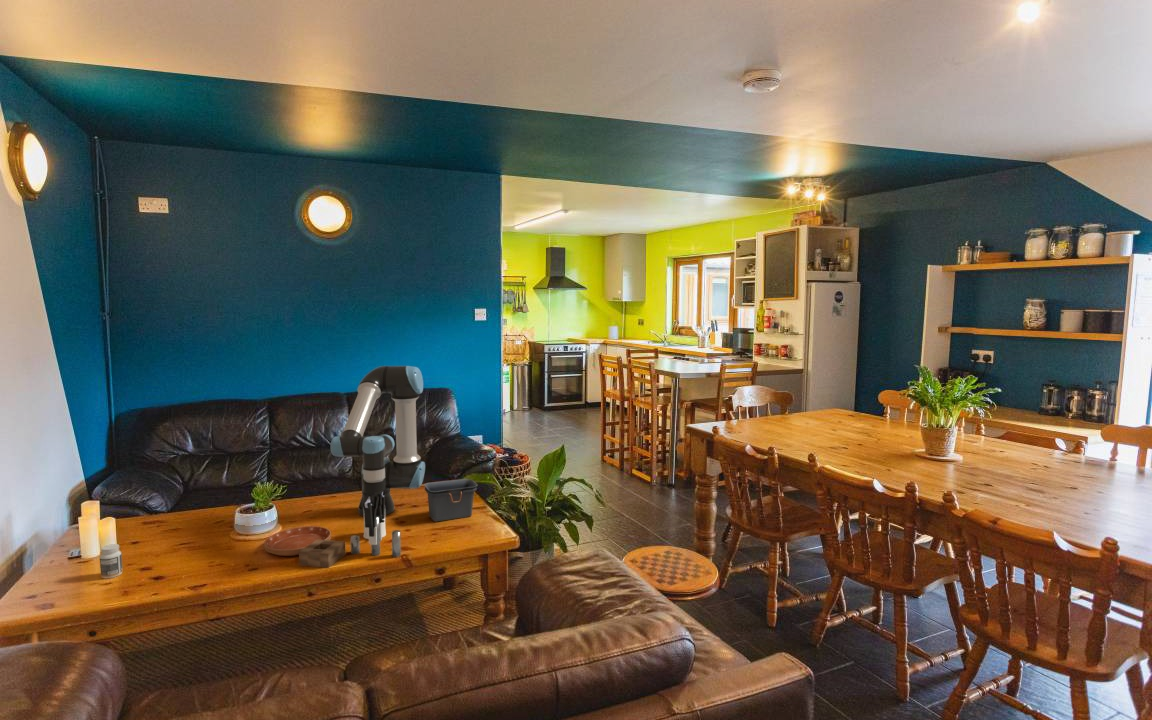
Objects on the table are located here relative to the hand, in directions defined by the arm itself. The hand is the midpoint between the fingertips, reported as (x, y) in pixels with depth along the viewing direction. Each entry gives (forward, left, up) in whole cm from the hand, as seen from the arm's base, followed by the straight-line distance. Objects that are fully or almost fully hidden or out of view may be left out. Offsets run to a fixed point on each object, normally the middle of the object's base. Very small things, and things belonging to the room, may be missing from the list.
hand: (375, 542), depth 218 cm
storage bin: (-41, +14, -5) cm, 44 cm away
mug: (-15, -8, -5) cm, 18 cm away
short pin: (0, -8, -5) cm, 9 cm away
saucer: (-2, -32, -5) cm, 32 cm away
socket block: (+8, -16, -5) cm, 18 cm away
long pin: (0, 0, -5) cm, 5 cm away
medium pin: (0, +8, -5) cm, 9 cm away
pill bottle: (+31, -78, -5) cm, 84 cm away
